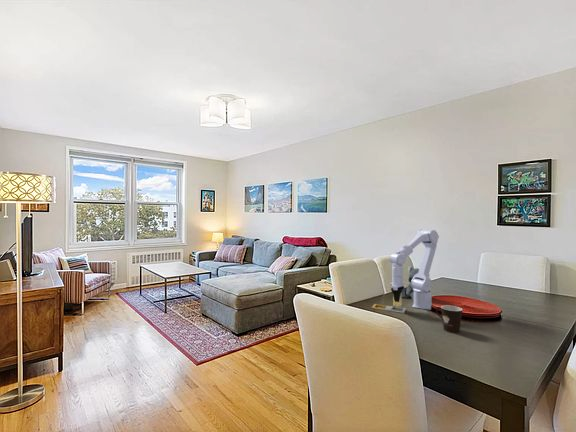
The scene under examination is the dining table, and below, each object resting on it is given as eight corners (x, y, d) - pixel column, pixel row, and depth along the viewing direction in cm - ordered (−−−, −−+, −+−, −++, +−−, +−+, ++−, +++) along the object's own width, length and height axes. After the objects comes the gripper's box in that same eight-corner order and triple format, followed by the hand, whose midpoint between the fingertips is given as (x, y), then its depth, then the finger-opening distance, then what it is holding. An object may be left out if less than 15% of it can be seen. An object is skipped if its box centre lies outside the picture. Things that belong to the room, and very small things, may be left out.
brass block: (401, 304, 168) (401, 292, 168) (400, 306, 164) (400, 293, 164) (394, 303, 170) (394, 291, 170) (393, 305, 166) (392, 292, 166)
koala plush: (395, 296, 196) (395, 265, 196) (415, 293, 203) (415, 264, 203) (417, 303, 180) (417, 270, 180) (438, 300, 188) (438, 268, 188)
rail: (405, 309, 168) (405, 308, 168) (404, 313, 162) (404, 311, 162) (374, 305, 176) (374, 303, 176) (371, 308, 170) (371, 306, 170)
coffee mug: (466, 333, 134) (466, 311, 134) (446, 333, 134) (446, 311, 134) (452, 324, 145) (452, 303, 145) (434, 324, 146) (434, 303, 146)
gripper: (392, 272, 175) (392, 296, 175) (387, 277, 162) (387, 302, 162) (405, 273, 172) (405, 298, 172) (401, 278, 159) (401, 304, 159)
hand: (397, 300), depth 167 cm, fingers closed on brass block, 4 cm apart
